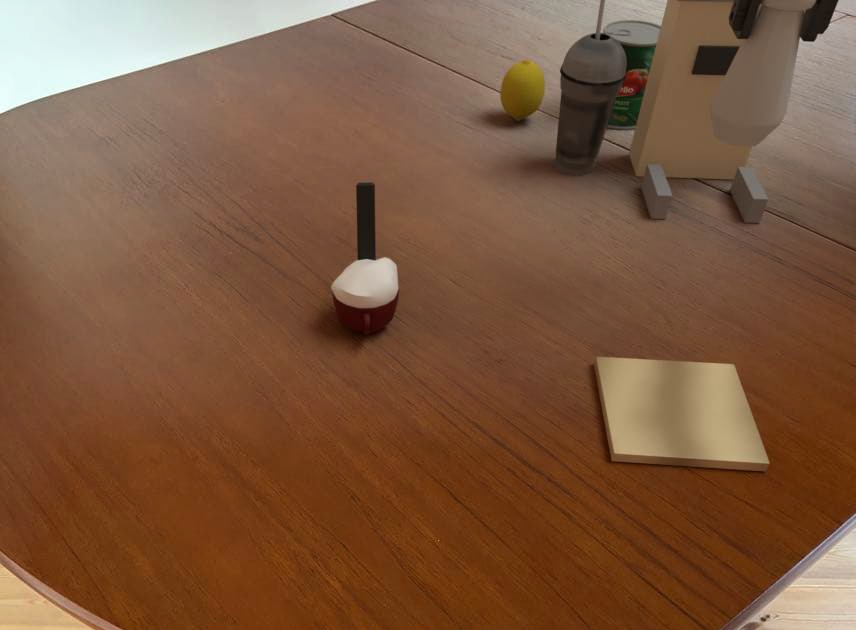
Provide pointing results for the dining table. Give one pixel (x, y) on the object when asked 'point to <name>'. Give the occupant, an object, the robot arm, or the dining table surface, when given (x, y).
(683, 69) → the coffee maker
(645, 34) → the canned tomato
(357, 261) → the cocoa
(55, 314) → the dining table surface
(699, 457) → the plate
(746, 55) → the salt shaker
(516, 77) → the lemon
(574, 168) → the beverage cup
